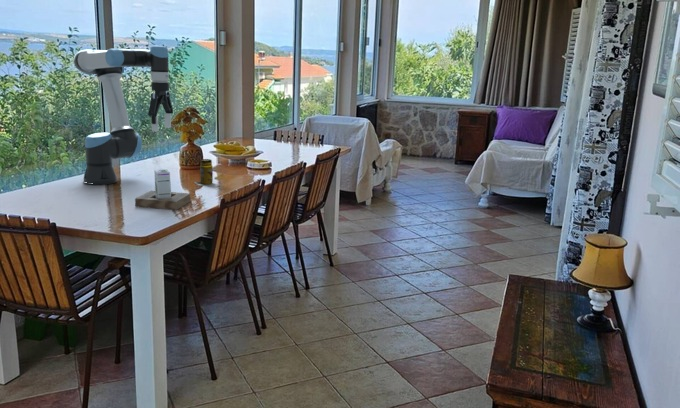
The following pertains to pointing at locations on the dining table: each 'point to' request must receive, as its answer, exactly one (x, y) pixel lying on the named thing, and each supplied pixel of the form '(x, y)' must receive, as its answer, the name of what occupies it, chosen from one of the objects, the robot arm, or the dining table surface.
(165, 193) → the syrup box
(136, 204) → the walnut socket block
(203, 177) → the condiment
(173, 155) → the dining table surface
